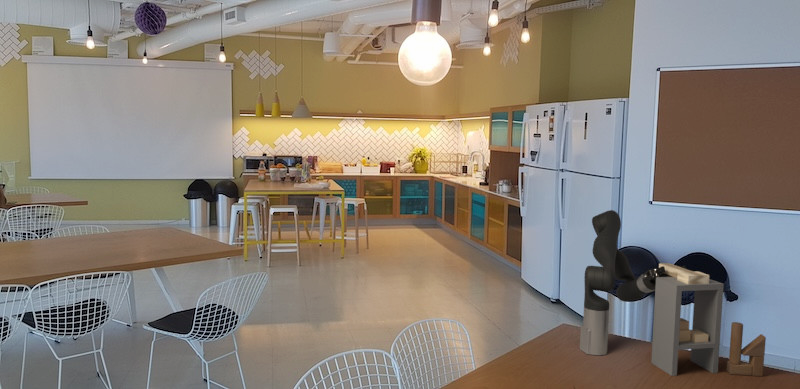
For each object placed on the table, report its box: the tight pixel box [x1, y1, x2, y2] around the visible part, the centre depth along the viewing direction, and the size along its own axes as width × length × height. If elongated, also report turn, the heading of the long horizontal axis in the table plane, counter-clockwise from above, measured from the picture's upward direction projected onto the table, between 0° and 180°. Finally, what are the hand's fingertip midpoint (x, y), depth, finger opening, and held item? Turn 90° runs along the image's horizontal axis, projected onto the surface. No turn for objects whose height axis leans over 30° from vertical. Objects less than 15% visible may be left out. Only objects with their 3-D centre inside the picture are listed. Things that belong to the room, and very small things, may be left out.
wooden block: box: [726, 321, 767, 377], centre depth 210 cm, size 4×11×18 cm, turn 82°
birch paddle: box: [658, 262, 710, 284], centre depth 217 cm, size 8×20×3 cm, turn 10°
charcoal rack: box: [650, 277, 725, 377], centre depth 214 cm, size 18×12×32 cm, turn 100°
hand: (674, 268), depth 220 cm, fingers open, 8 cm apart
